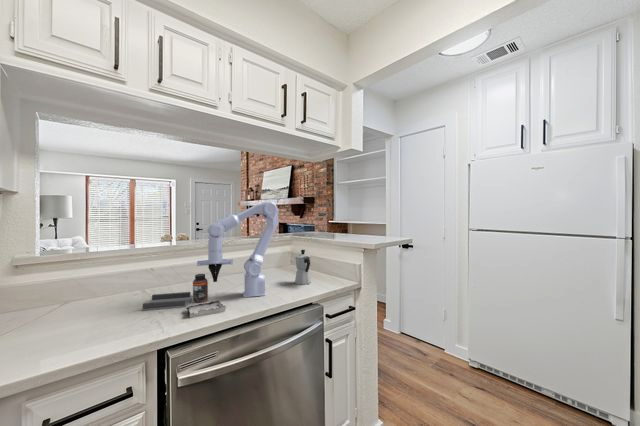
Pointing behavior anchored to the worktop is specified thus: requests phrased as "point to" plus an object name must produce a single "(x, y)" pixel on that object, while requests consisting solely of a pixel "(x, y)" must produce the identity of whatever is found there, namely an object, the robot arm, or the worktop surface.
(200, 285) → the supplement bottle
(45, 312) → the worktop surface
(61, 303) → the worktop surface
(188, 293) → the mat
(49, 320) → the worktop surface
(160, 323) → the worktop surface
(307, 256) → the coffee maker
